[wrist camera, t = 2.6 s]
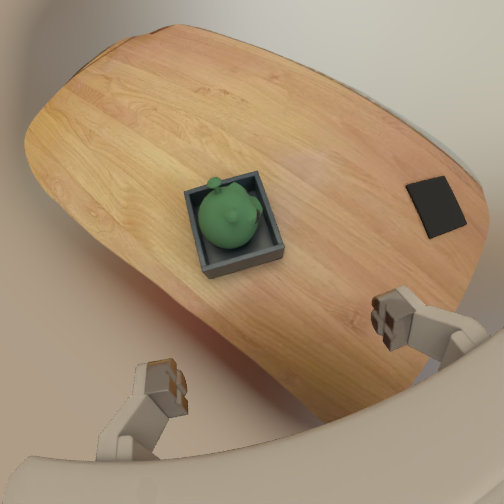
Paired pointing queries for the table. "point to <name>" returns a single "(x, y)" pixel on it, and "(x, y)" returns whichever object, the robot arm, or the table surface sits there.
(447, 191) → the mat
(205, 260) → the crate
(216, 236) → the alien toy
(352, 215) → the table surface
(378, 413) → the robot arm
